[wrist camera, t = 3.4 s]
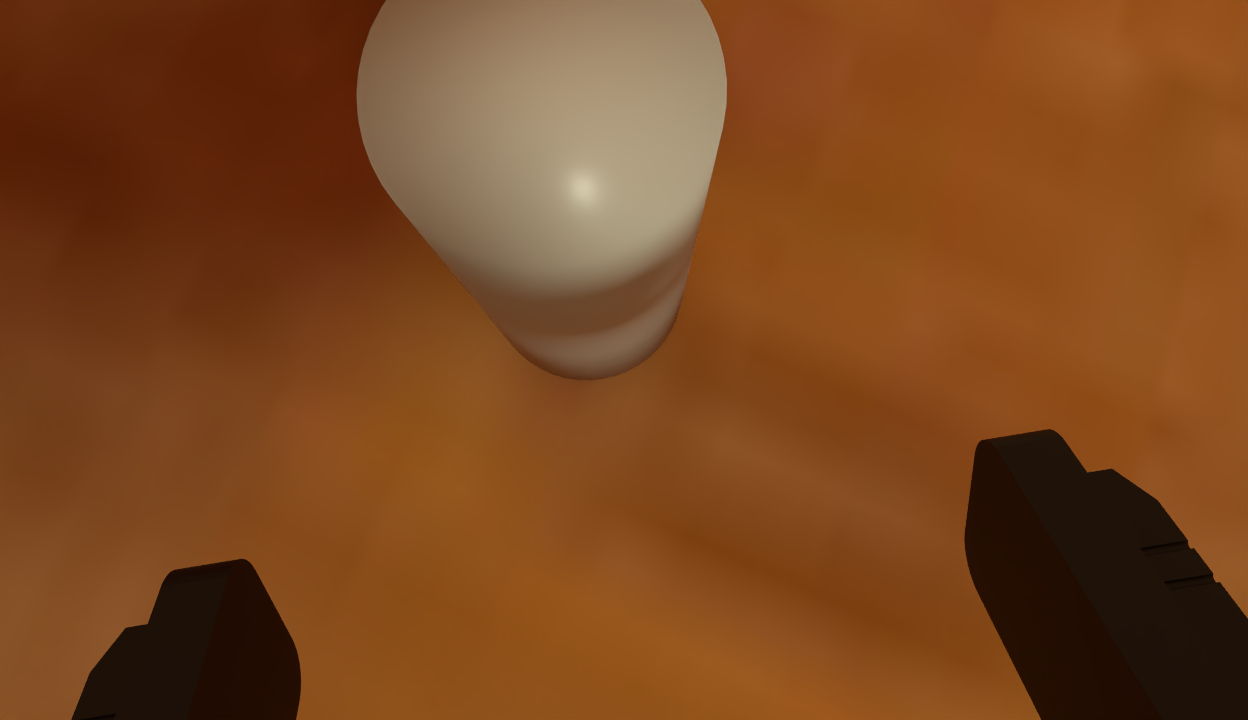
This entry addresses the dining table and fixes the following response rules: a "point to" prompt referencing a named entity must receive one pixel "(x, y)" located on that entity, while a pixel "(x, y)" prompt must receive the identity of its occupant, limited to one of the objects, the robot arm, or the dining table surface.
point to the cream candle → (551, 160)
